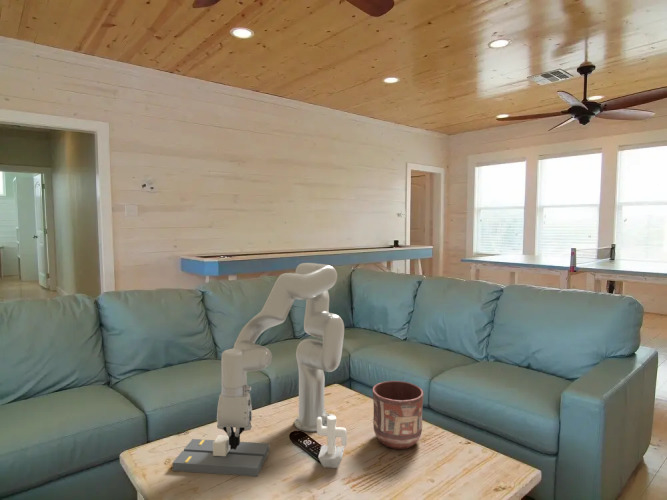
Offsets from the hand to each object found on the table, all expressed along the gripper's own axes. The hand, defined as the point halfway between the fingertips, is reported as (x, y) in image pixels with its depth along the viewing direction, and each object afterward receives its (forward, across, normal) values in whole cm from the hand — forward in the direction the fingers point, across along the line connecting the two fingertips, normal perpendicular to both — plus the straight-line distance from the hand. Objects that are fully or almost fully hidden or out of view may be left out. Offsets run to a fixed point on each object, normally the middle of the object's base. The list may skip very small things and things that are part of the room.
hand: (234, 447), depth 130 cm
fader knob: (+3, +4, 0) cm, 5 cm away
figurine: (+5, -30, -2) cm, 31 cm away
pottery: (+5, -51, -18) cm, 55 cm away
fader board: (+5, +4, 0) cm, 6 cm away
